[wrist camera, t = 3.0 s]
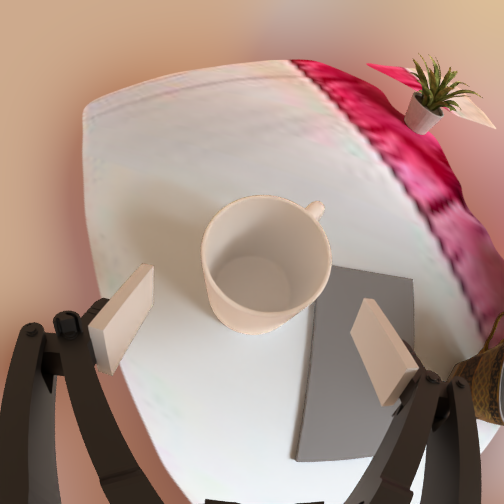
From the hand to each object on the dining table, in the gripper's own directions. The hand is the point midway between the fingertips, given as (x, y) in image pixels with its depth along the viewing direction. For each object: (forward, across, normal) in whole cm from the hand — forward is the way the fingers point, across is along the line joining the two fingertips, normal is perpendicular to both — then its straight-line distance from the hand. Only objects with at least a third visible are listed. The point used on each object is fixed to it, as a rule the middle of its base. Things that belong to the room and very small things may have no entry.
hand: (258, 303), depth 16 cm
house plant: (+35, +29, +22) cm, 50 cm away
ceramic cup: (+3, +28, -10) cm, 30 cm away
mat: (+5, +12, -9) cm, 16 cm away
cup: (+10, +1, -3) cm, 11 cm away
